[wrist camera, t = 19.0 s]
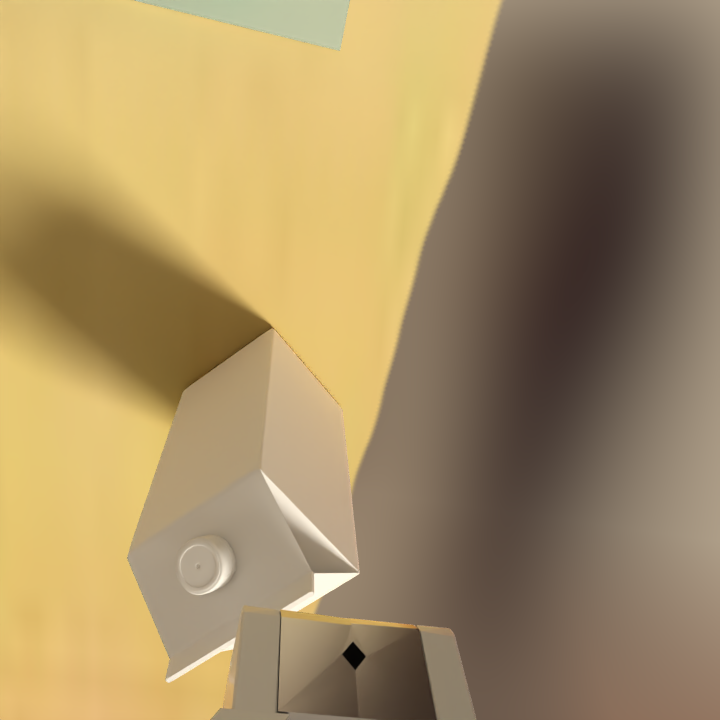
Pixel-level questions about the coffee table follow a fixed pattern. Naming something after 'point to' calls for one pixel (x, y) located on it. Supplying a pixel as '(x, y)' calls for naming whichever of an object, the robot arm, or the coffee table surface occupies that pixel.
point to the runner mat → (274, 16)
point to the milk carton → (244, 503)
